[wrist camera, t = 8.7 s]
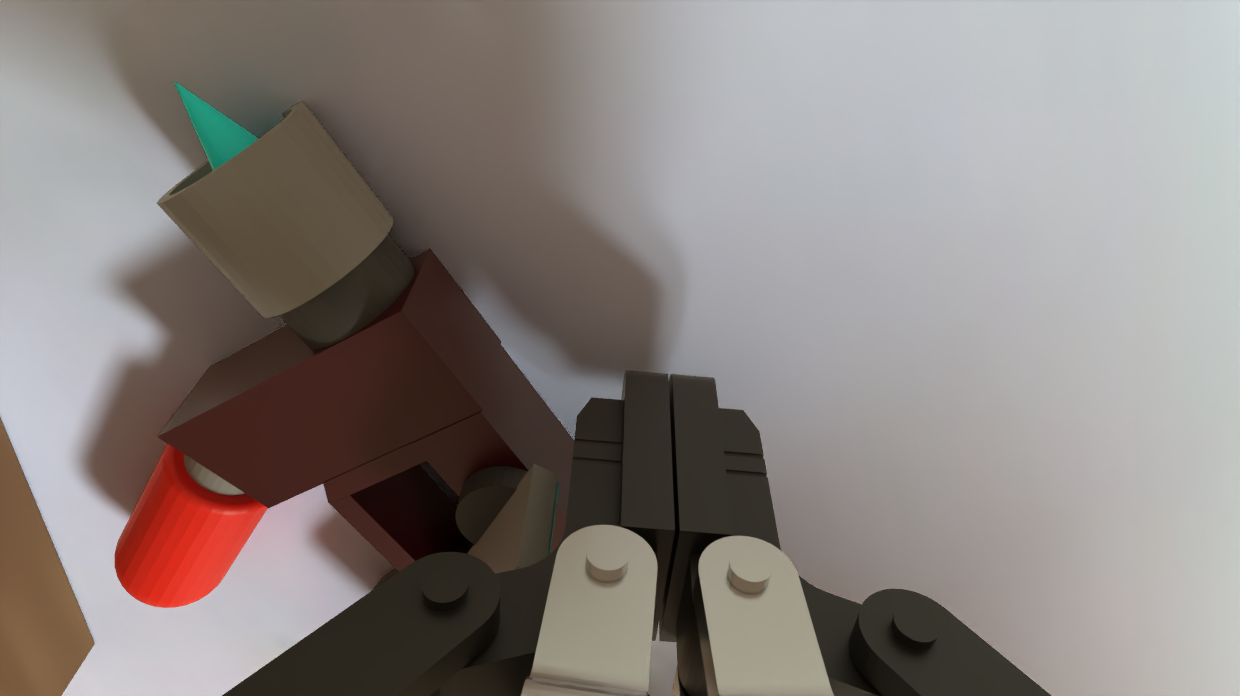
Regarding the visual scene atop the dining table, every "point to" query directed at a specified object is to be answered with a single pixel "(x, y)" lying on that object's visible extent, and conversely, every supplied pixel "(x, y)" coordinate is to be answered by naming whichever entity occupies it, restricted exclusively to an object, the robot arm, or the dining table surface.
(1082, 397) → the dining table surface
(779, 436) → the dining table surface
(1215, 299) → the dining table surface
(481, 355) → the toy gun
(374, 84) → the dining table surface
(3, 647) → the board
